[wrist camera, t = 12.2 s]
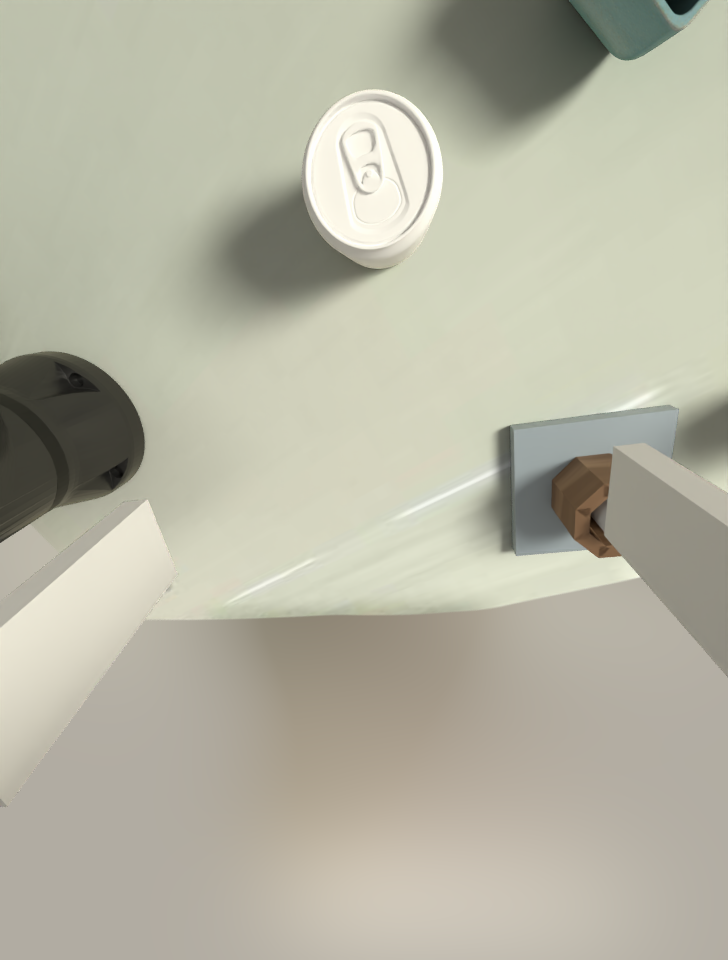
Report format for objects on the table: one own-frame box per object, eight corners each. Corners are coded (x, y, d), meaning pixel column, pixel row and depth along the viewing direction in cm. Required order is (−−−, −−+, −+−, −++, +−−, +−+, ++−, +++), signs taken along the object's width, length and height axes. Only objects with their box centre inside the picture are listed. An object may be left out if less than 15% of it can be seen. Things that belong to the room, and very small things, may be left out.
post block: (512, 547, 45) (537, 604, 37) (510, 425, 40) (538, 460, 31) (651, 535, 43) (709, 592, 35) (669, 404, 38) (743, 436, 29)
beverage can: (348, 282, 36) (325, 279, 25) (315, 174, 33) (273, 115, 22) (441, 249, 34) (460, 230, 23) (415, 132, 31) (424, 46, 20)
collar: (550, 525, 42) (573, 560, 37) (552, 459, 39) (576, 486, 34) (627, 518, 41) (661, 552, 36) (634, 450, 38) (673, 476, 33)
